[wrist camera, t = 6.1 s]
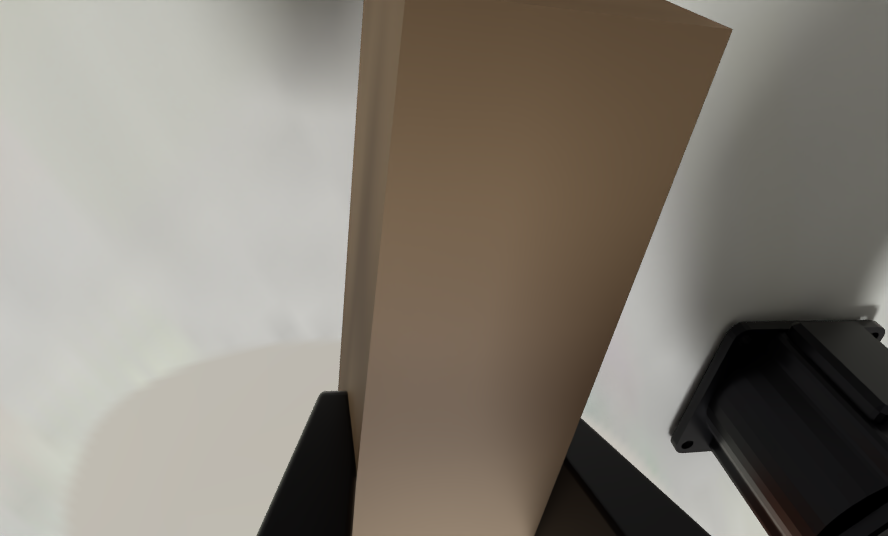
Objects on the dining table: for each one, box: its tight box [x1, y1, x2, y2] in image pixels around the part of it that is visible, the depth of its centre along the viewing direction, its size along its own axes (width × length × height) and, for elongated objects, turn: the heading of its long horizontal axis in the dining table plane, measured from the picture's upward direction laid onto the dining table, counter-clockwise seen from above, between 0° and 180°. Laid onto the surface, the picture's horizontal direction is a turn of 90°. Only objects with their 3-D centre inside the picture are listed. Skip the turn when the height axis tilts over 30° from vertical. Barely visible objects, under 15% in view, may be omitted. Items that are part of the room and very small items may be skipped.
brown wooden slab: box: [338, 0, 733, 536], centre depth 7 cm, size 13×5×3 cm, turn 171°
